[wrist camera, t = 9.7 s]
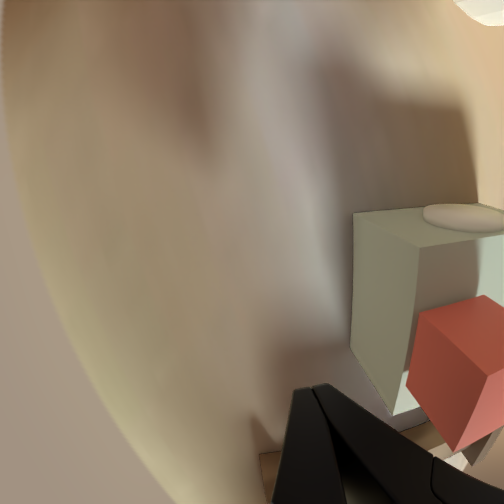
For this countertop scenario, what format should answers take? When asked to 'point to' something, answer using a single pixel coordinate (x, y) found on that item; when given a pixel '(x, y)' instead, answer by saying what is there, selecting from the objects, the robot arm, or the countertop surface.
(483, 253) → the cabinet
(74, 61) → the countertop surface
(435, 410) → the red cube
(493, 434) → the brown i-shaped bar
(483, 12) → the white cup
